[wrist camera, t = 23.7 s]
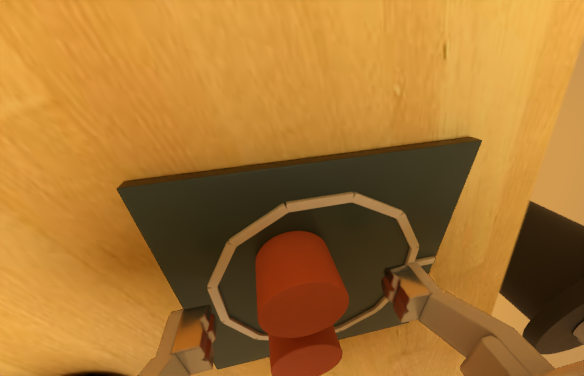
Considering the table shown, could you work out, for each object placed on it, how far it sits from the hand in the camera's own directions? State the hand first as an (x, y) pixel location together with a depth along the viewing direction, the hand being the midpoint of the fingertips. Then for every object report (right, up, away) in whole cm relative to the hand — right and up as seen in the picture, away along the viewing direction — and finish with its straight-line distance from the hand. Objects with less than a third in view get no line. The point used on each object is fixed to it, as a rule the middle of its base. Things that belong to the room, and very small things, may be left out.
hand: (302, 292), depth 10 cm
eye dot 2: (0, -3, +4) cm, 6 cm away
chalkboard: (+1, -1, +4) cm, 4 cm away
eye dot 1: (0, +1, +2) cm, 2 cm away
